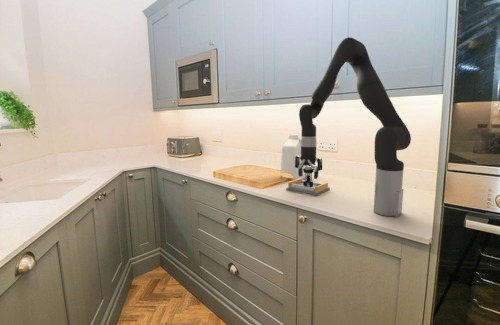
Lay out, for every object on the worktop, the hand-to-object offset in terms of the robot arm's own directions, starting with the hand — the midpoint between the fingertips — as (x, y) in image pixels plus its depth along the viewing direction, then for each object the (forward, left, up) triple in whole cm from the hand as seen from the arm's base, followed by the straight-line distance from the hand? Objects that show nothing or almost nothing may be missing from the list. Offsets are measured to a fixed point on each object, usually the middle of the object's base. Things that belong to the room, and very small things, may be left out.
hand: (308, 177), depth 138 cm
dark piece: (+1, 0, -5) cm, 5 cm away
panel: (0, 0, -7) cm, 7 cm away
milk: (+22, -21, -7) cm, 31 cm away
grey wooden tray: (0, 0, -5) cm, 5 cm away
